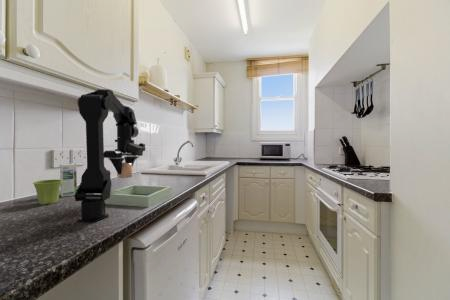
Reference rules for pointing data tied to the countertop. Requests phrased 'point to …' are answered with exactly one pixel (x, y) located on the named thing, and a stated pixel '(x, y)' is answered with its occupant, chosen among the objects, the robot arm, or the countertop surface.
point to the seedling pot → (125, 170)
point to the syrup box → (68, 179)
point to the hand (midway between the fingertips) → (124, 173)
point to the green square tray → (126, 197)
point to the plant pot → (47, 191)
